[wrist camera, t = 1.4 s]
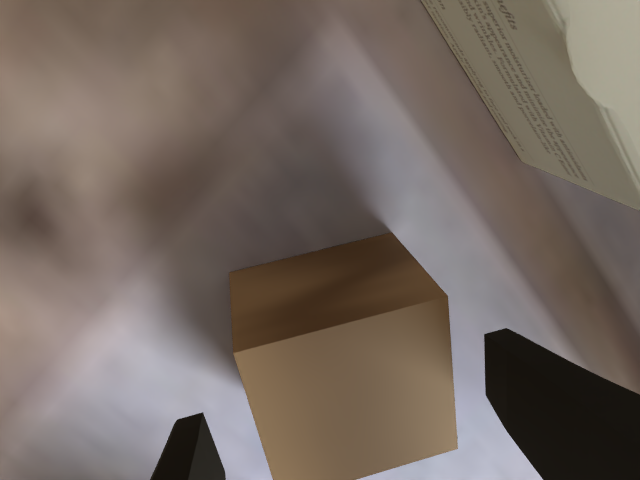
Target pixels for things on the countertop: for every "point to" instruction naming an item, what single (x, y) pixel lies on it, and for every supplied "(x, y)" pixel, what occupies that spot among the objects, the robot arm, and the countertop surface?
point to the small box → (557, 83)
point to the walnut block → (345, 360)
